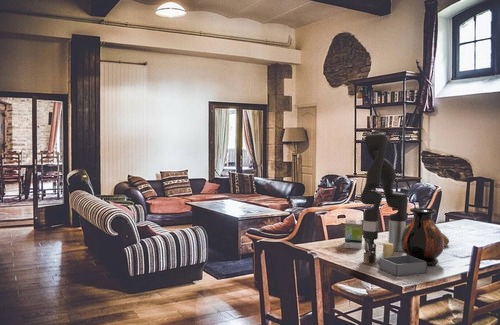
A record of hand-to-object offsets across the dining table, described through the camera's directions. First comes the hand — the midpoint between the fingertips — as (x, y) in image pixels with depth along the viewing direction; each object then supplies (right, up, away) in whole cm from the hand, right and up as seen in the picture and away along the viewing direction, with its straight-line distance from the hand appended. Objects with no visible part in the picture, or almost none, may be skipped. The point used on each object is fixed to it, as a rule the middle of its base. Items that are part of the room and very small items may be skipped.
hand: (369, 260), depth 242 cm
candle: (+10, -1, 0) cm, 10 cm away
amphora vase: (+28, -1, +3) cm, 28 cm away
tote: (+13, -2, -14) cm, 19 cm away
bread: (+44, +1, +49) cm, 66 cm away
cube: (0, -1, 0) cm, 1 cm away
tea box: (0, +1, +38) cm, 38 cm away
